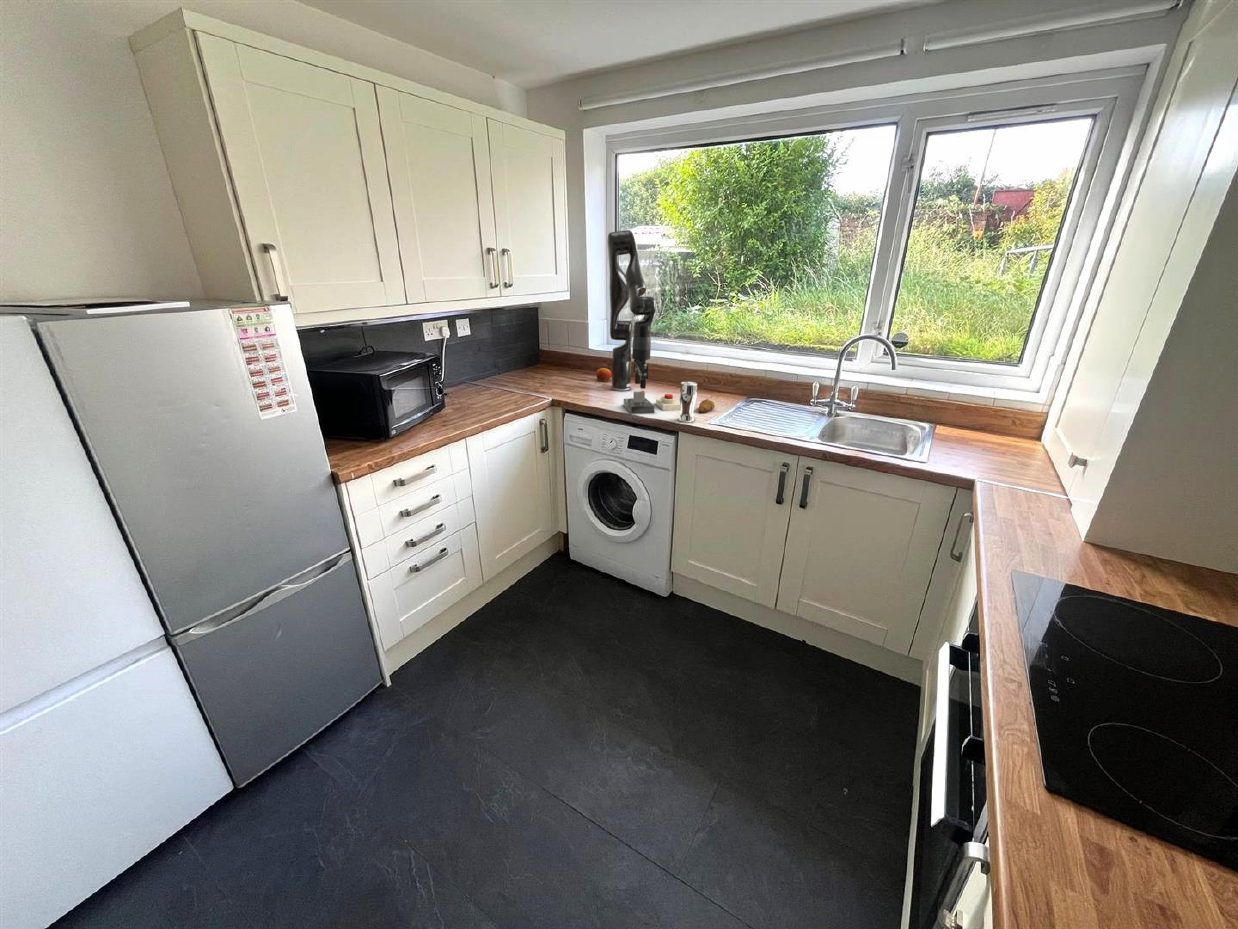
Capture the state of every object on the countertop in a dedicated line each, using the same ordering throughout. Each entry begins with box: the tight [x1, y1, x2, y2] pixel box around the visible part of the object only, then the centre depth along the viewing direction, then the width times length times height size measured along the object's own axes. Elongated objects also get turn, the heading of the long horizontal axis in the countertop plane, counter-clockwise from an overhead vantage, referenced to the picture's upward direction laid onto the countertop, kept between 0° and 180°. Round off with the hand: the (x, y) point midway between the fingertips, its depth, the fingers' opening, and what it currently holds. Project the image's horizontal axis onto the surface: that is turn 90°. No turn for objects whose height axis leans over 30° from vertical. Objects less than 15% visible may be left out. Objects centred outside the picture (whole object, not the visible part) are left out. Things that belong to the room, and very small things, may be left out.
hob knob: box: [632, 390, 646, 403], centre depth 213 cm, size 5×1×5 cm, turn 103°
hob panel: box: [623, 397, 655, 415], centre depth 214 cm, size 14×10×3 cm
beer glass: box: [678, 381, 698, 423], centre depth 198 cm, size 7×7×15 cm
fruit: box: [595, 367, 612, 383], centre depth 265 cm, size 8×8×8 cm
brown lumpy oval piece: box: [698, 398, 716, 414], centre depth 215 cm, size 14×7×5 cm, turn 151°
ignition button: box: [663, 393, 674, 399], centre depth 218 cm, size 4×4×2 cm
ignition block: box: [655, 395, 680, 411], centre depth 219 cm, size 11×8×4 cm
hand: (640, 386), depth 212 cm, fingers open, 8 cm apart
